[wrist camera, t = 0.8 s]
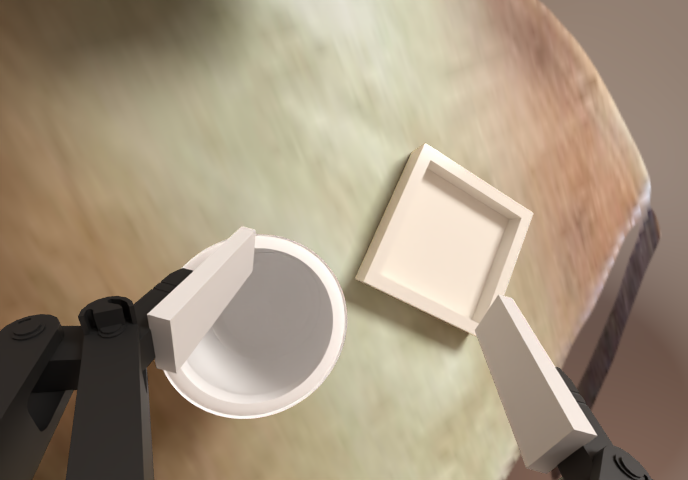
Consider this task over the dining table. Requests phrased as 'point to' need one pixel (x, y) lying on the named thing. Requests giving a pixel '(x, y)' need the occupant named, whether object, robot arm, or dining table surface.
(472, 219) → the white square tray
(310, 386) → the jar
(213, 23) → the dining table surface
